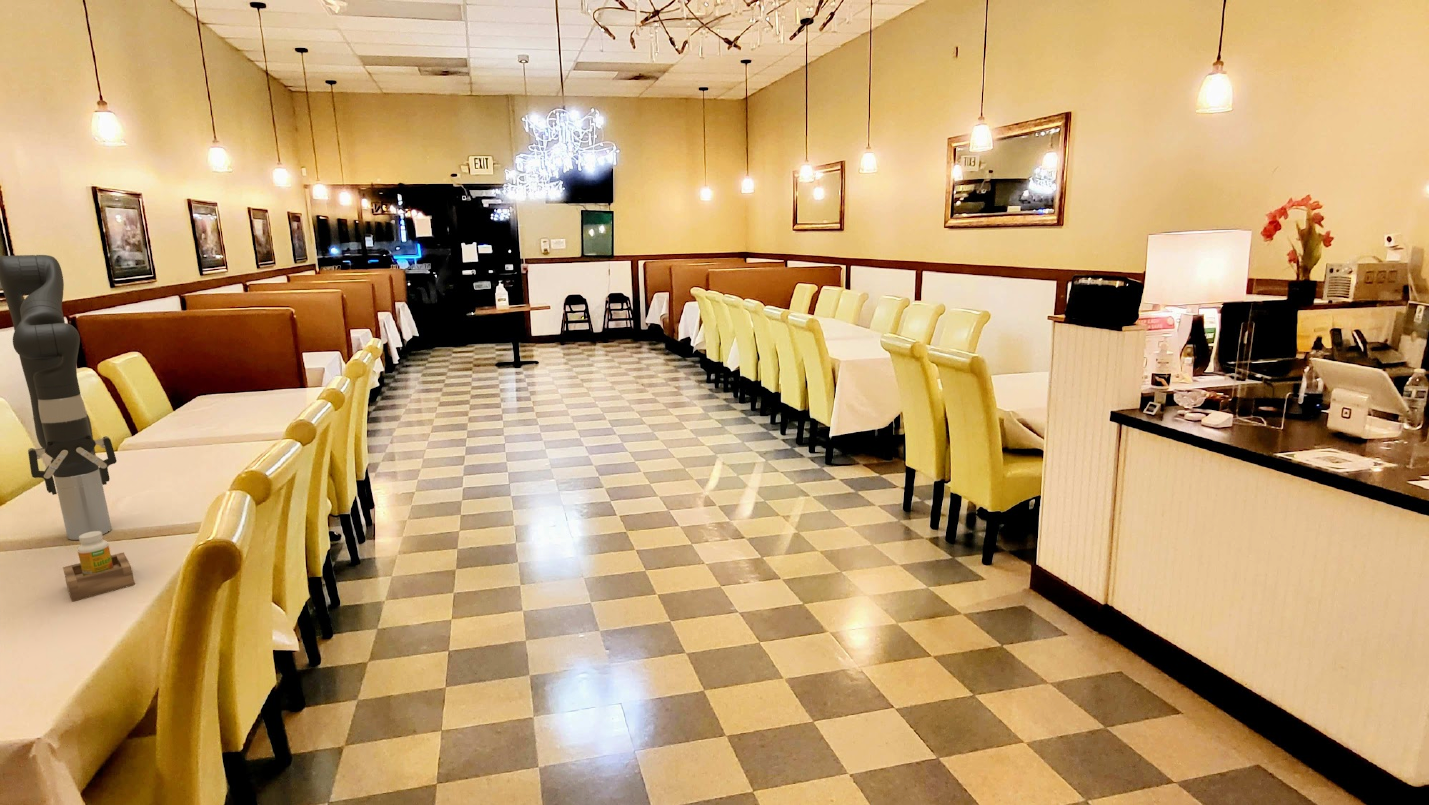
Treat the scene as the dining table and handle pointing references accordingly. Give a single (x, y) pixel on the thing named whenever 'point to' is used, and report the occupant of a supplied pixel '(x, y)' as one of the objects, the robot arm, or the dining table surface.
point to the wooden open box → (98, 578)
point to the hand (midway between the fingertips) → (79, 488)
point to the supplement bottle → (94, 553)
